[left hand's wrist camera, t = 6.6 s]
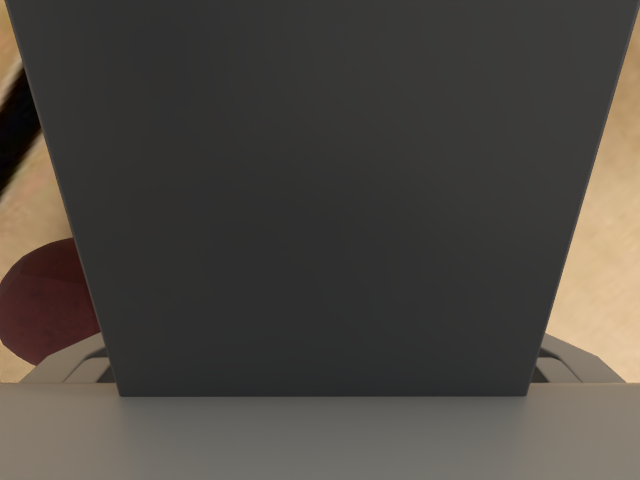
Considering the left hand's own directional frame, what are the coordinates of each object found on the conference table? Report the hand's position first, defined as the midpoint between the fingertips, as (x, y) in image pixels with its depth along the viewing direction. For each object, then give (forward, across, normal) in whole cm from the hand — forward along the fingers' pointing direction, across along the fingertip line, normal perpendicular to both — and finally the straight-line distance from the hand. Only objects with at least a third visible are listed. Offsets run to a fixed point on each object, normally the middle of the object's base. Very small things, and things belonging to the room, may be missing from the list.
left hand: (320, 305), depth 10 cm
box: (+4, 0, -10) cm, 11 cm away
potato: (+12, +14, +5) cm, 19 cm away
